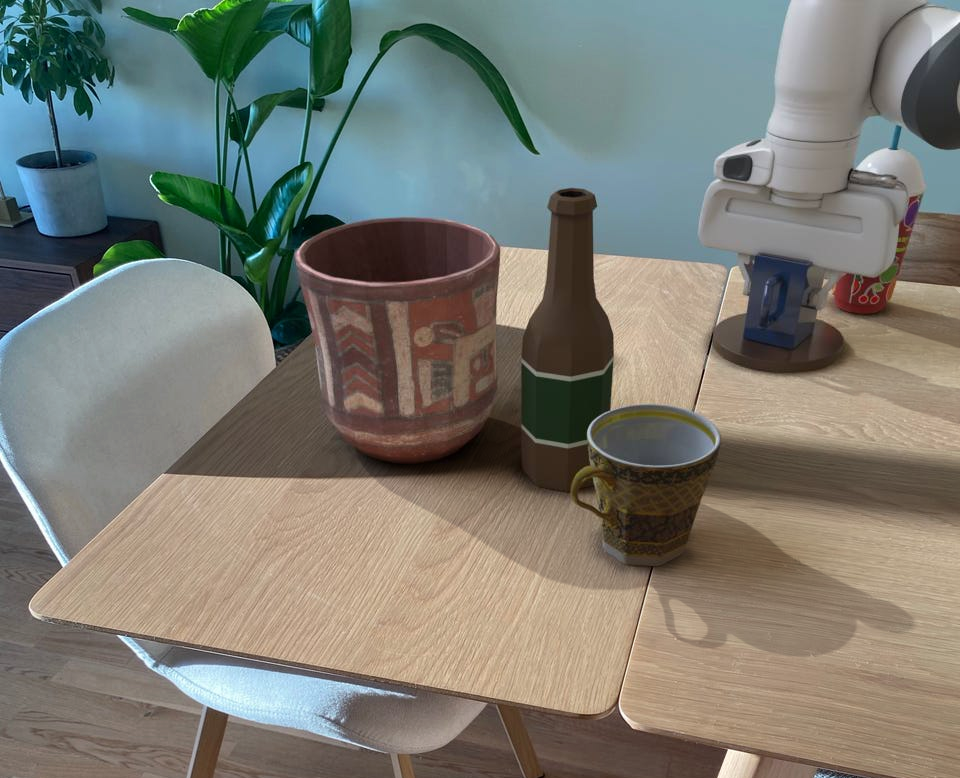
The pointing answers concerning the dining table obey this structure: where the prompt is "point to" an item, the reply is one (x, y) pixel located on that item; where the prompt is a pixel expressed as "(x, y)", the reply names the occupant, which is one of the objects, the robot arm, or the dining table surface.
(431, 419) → the pottery
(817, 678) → the dining table surface
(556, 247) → the beer bottle
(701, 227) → the robot arm
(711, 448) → the ceramic cup
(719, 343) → the coaster
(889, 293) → the smoothie
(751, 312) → the mug
